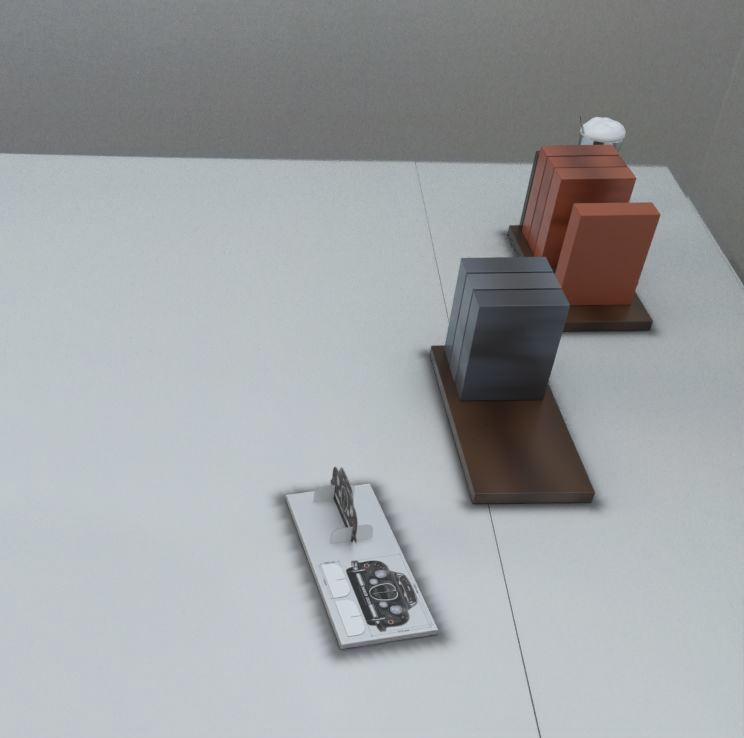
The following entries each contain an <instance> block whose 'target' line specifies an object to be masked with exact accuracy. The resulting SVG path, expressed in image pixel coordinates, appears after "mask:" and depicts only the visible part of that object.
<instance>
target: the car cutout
mask: <svg viewBox="0 0 744 738" xmlns="http://www.w3.org/2000/svg"><path fill="white" fill-rule="evenodd" d="M331 475H332V476H331V479H330V485H325V486H320V487H318V488H317V489H316V490H311V491H310V490H309V491H304V492H295V493H288V494H285V502H286V504H287V506H288V509H289V513H290V516H291V517H292V518H291V519H292V521H293V523H294V526H295V528H296V531H297V534H298V536H299V539H300V543H301V544H302V545H301V546H302V547H303V551H304V552H305V555H306V558H307V561H308V564H309V567H310V569H311V572H312V574H313V577H314V581H315V583H316V585H317V588H318V590H319V594H320V597H321V600H322V602H323V605H324V607H325V610H326V613H327V616H328V619H329V621H330V624H331V626H332V629H333V631H334V634H335V638H336V640H337V643H338V646H339V648H340V650H344V649H345V650H346V649H351V648H357V647H363V646H364V647H365V646H371V645H377V644H383V643H384V644H385V643H391V642H396V641H402V640H409V639H416V638H421V637H428V636H433V635H434V636H435V635H438V633H439V628H438V626H437V624H436V621H435V619H434V617H433V616H432V615H433V614H432V613H431V611H430V609H429V606H428V605H427V602H426V599H425V598H424V596H423V594H422V592H421V589H420V588H419V585H418V583H417V580H416V578H415V577H414V574H413V572H412V570H411V568H410V566H409V563H408V562H407V559H406V557H405V555H404V553H403V551H402V548H401V547H400V544H399V542H398V540H397V538H396V536H395V534H394V531H393V529H392V527H391V525H390V523H389V521H388V519H387V516H386V514H385V512H384V510H383V509H382V506H381V504H380V502H379V500H378V497H377V495H376V494H375V493H376V492H375V491H374V489H373V486H372V484H371V483H362V484H355V485H354V484H353V483H351V482H350V479H349V478H348V475H347V473H346V471H345V469H344V467H343V466H342V467H339V469H338V466H334V467H333V469H332V474H331Z"/></svg>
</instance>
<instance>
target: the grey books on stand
mask: <svg viewBox="0 0 744 738" xmlns="http://www.w3.org/2000/svg"><path fill="white" fill-rule="evenodd" d="M452 299H453V300H452V305H451V311H450V315H449V321H448V327H447V332H446V336H445V343H444V345H441V344H440V345H439V344H438V345H435V344H433V345H431V346H430V350H429V356H430V360H431V364H432V367H433V371H434V374H435V377H436V381H437V385H438V387H439V391H440V395H441V398H442V401H443V406H444V407H445V408H444V409H445V412H446V415H447V418H448V423H449V425H450V429H451V431H452V432H451V433H452V435H453V440H454V443H455V447H456V449H457V452H458V456H459V460H460V464H461V466H462V470H463V473H464V477H465V480H466V484H467V487H468V490H469V494H470V497H471V501H472V504H532V503H533V504H537V503H538V504H540V503H541V504H544V503H545V504H547V503H548V504H549V503H550V504H553V503H555V504H556V503H592V502H593V501H594V498H595V494H596V491H595V489H594V487H593V484H592V481H591V480H590V478H589V474H588V473H587V470H586V469H585V466H584V463H583V462H582V459H581V456H580V454H579V452H578V449H577V447H576V445H575V443H574V441H573V438H572V436H571V433H570V431H569V429H568V426H567V424H566V421H565V419H564V417H563V414H562V412H561V410H560V407H559V405H558V402H557V401H556V398H555V396H554V393H553V391H552V389H551V386H550V384H549V383H550V379H551V374H552V371H553V367H554V364H555V360H556V357H557V353H558V351H559V350H558V349H559V346H560V343H561V339H562V337H563V332H564V331H563V329H564V325H565V322H566V318H567V315H568V311H569V308H570V304H569V302H568V300H567V298H566V296H565V294H564V292H563V290H561V286H560V284H559V282H558V280H557V278H556V276H555V274H554V273H553V270H552V268H551V266H550V264H549V262H548V260H547V258H546V257H518V256H505V257H503V256H502V257H501V256H500V257H499V256H498V257H461V258H460V262H459V267H458V273H457V279H456V284H455V289H454V295H453V298H452Z"/></svg>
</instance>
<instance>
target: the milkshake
mask: <svg viewBox="0 0 744 738" xmlns="http://www.w3.org/2000/svg"><path fill="white" fill-rule="evenodd" d="M579 120H580V130H579V137H578V144H577V145H613V146H614V148H615V149H616V151H617V152H618V153H619V154H620V151H621V147H622V145H623V142H624V140H625V138H626V135H627V134H626V132H627V131H626V129H625V126H624V125H623V124H622V123H621V122H619V121H618V120H614V119H612V118H610V117H608V116H607V117H601V116H595V117H592V118H590V119H589V120H588V121H586V122H585V123H583V122H584V121H583V116H582V115H581V114H579Z"/></svg>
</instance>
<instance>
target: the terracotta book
mask: <svg viewBox="0 0 744 738" xmlns="http://www.w3.org/2000/svg"><path fill="white" fill-rule="evenodd" d="M661 215H662V214H661V213H660V211H659V210H658V209H657V207H656V206H655V204H654V203H653V202H652V201H644V202H643V201H641V202H639V201H638V202H629V203H574V204H573V208H572V212H571V216H570V220H569V223H568V227H567V231H566V235H565V239H564V242H563V246H562V250H561V254H560V258H559V261H558V265H557V269H556V273H555V276H556V278H557V280H558V282H559V284H560V286H561V290H563V292H564V294H565V296H566V298H567V300H568V302H569V304H570V305H631V303H632V300H633V297H634V294H635V292H636V291H637V288H638V285H639V282H640V278H641V275H642V273H643V270H644V266H645V263H646V260H647V258H648V254H649V251H650V248H651V245H652V242H653V239H654V236H655V234H656V230H657V228H658V224H659V221H660V218H661Z"/></svg>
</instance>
